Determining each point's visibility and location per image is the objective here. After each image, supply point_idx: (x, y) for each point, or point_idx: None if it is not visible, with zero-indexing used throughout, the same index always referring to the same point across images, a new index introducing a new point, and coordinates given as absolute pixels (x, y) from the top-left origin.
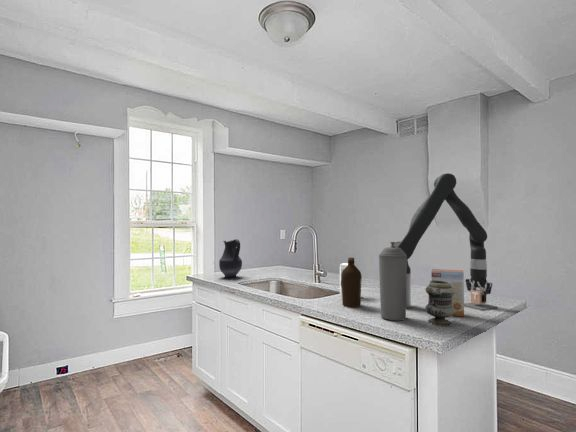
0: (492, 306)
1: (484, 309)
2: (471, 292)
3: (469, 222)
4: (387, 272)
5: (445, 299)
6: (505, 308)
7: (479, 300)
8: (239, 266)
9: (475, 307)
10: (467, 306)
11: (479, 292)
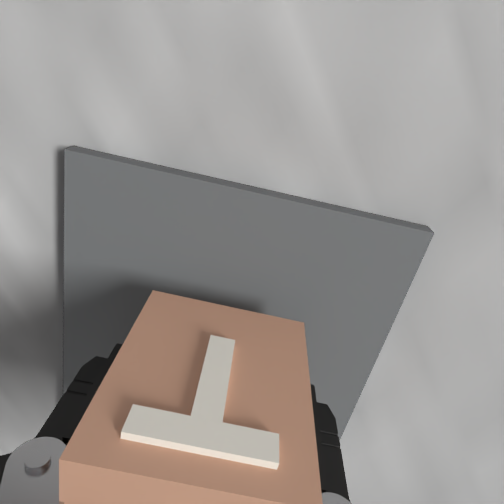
0: None
1: (67, 207)
2: (304, 462)
3: None
4: None
5: None
6: (15, 429)
7: (140, 325)
8: None
9: (183, 196)
10: (310, 203)
11: (70, 456)
